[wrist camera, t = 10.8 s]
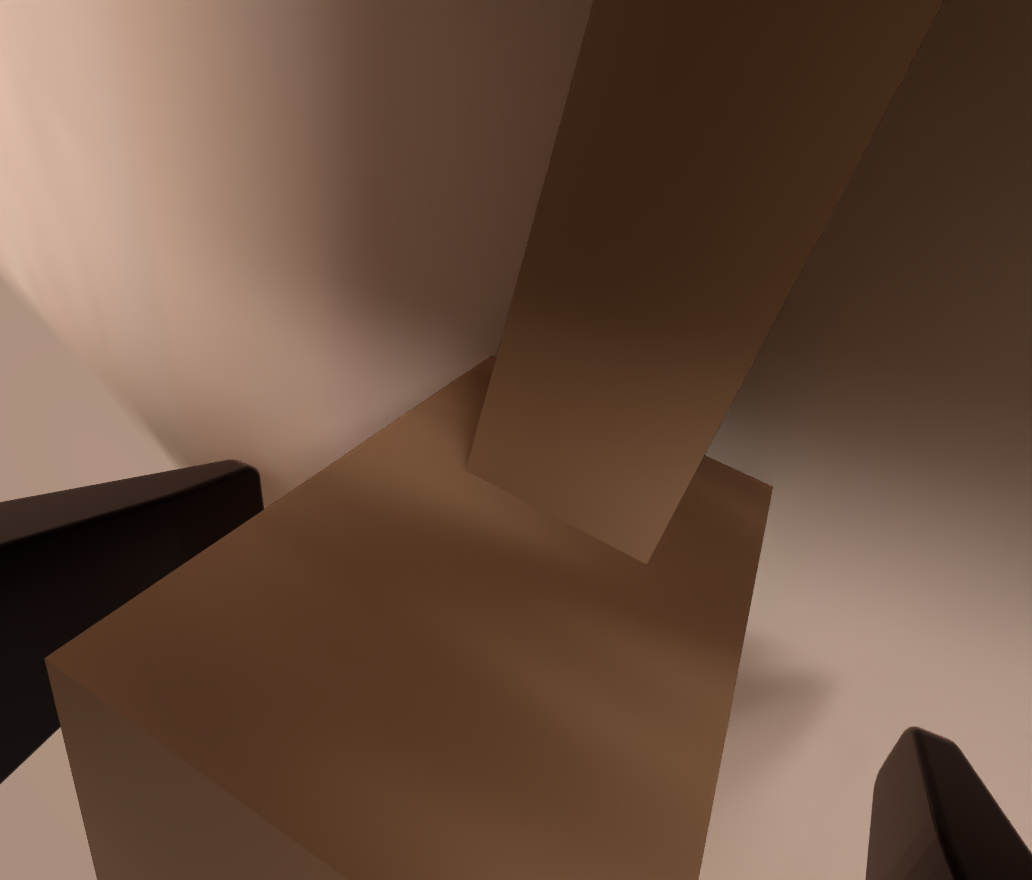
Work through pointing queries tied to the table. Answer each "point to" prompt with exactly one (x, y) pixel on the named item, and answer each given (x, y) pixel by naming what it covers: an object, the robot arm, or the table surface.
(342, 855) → the pusher tool
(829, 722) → the table surface
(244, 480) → the robot arm
